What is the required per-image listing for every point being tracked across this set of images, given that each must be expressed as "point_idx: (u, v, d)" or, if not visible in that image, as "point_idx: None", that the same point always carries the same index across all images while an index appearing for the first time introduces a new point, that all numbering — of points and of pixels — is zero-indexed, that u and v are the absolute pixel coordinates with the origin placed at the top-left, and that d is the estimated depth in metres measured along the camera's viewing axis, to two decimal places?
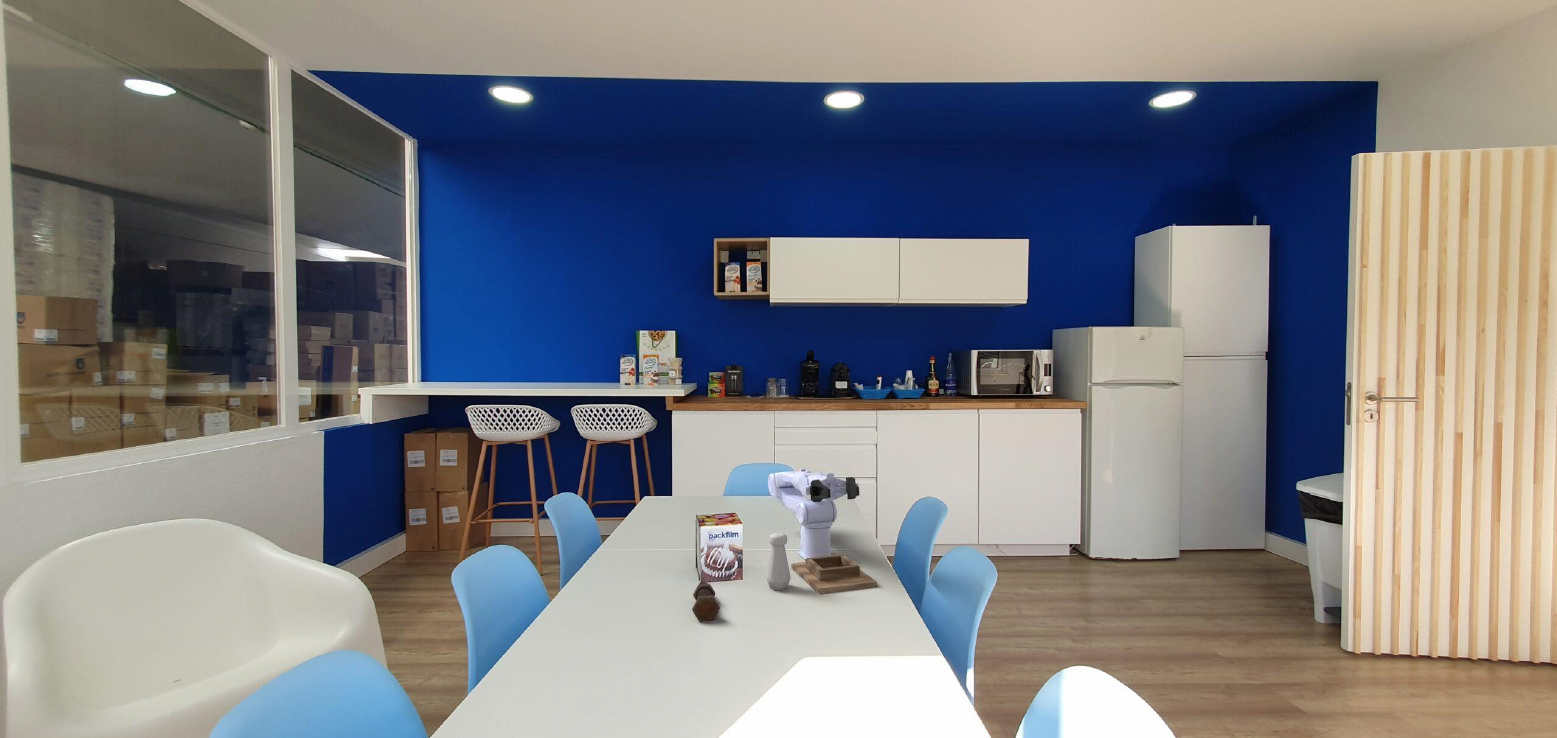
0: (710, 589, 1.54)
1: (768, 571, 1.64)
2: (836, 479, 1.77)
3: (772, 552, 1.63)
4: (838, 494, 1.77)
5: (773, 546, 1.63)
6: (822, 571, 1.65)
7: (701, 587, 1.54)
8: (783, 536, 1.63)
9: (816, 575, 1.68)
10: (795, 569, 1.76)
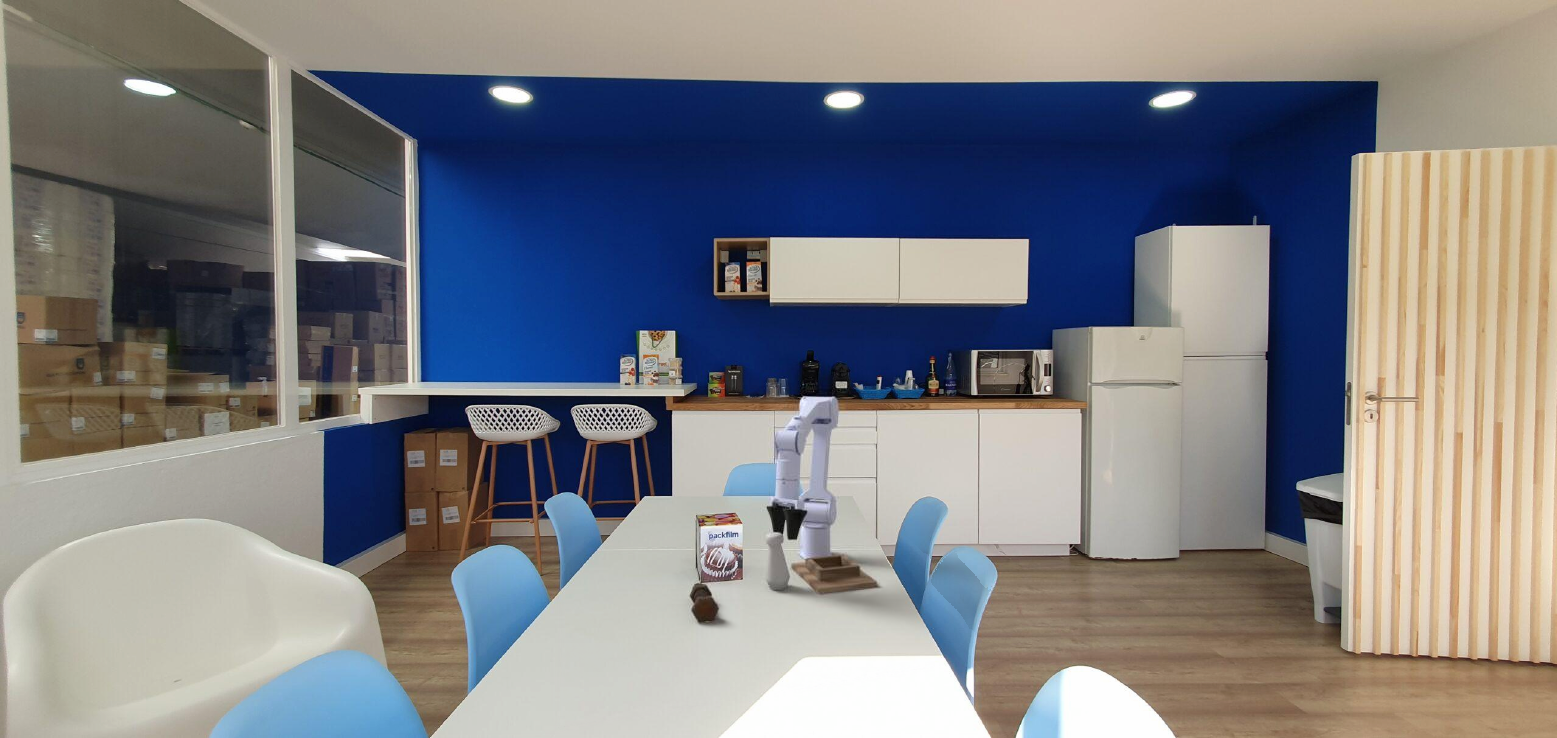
0: (707, 590, 1.54)
1: (767, 571, 1.64)
2: (781, 502, 1.62)
3: (769, 552, 1.63)
4: None
5: (770, 546, 1.63)
6: (822, 571, 1.65)
7: (698, 588, 1.54)
8: (779, 535, 1.63)
9: (816, 575, 1.68)
10: (795, 569, 1.76)
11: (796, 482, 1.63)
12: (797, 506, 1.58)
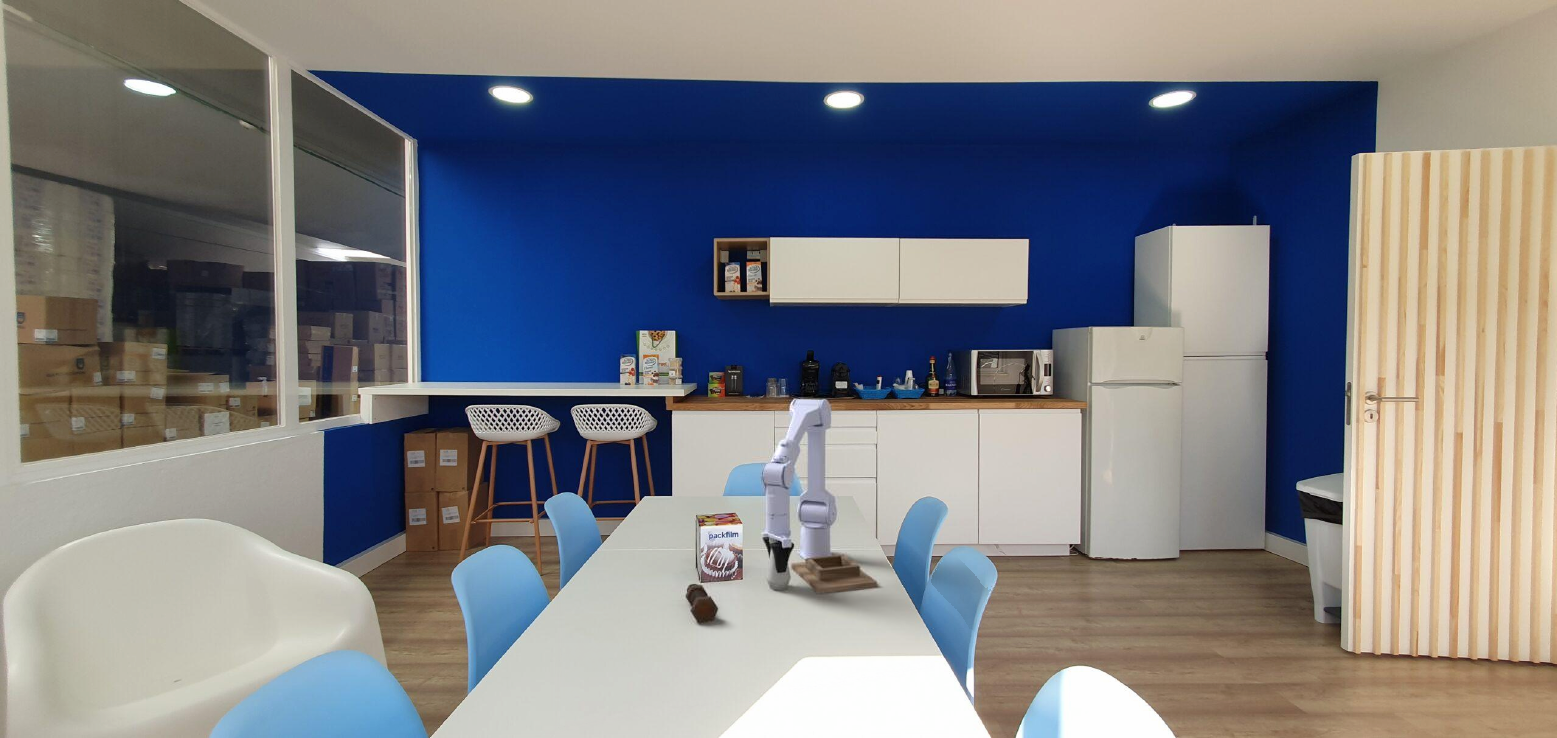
0: (703, 590, 1.54)
1: (768, 571, 1.64)
2: None
3: (772, 552, 1.63)
4: None
5: None
6: (822, 571, 1.65)
7: (694, 588, 1.53)
8: None
9: (816, 575, 1.68)
10: (795, 569, 1.76)
11: (785, 516, 1.62)
12: (784, 545, 1.57)
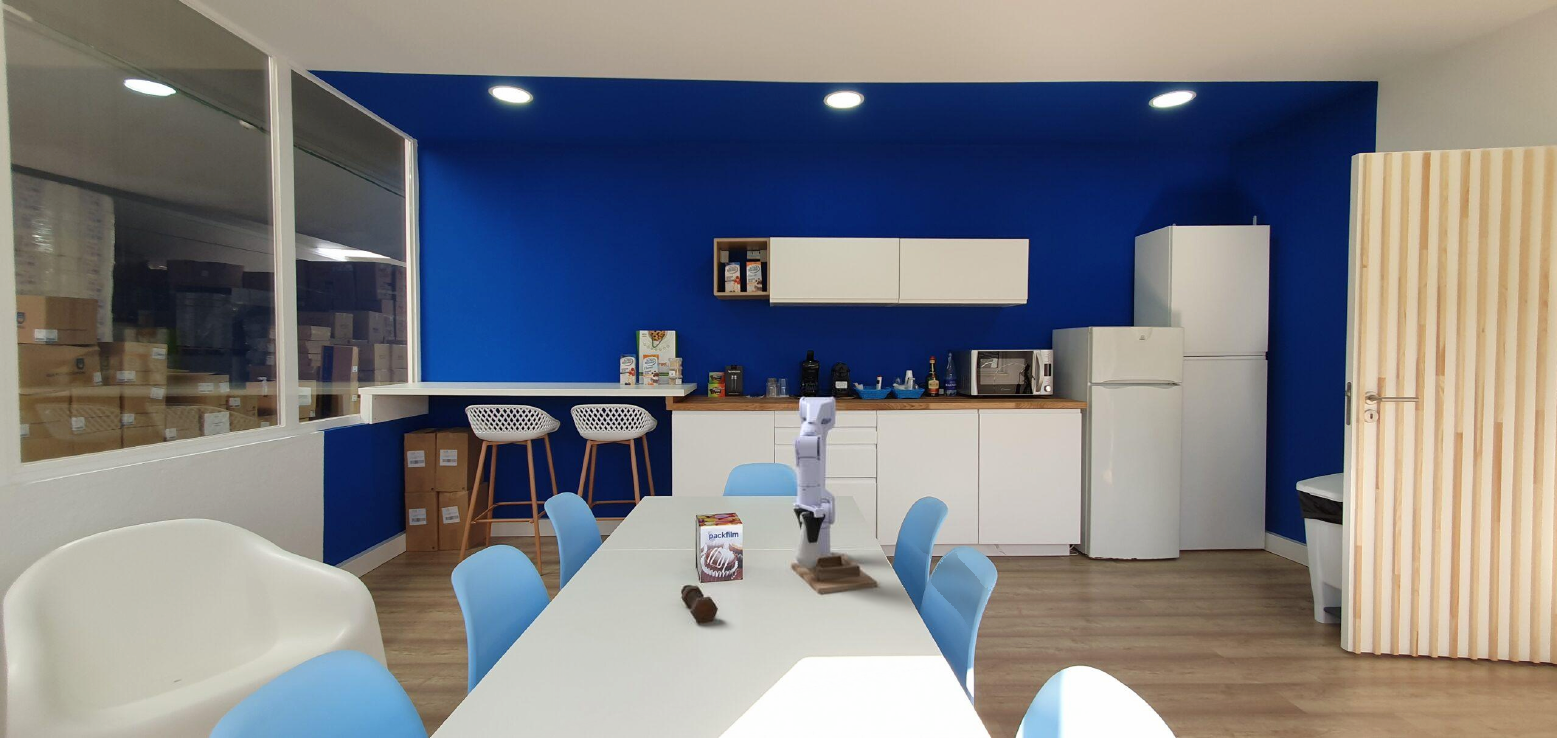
0: (699, 591, 1.53)
1: (798, 548, 1.68)
2: None
3: (802, 530, 1.67)
4: None
5: (803, 524, 1.67)
6: (822, 571, 1.65)
7: (690, 590, 1.53)
8: None
9: (816, 575, 1.68)
10: (795, 569, 1.76)
11: (816, 488, 1.66)
12: (816, 514, 1.61)
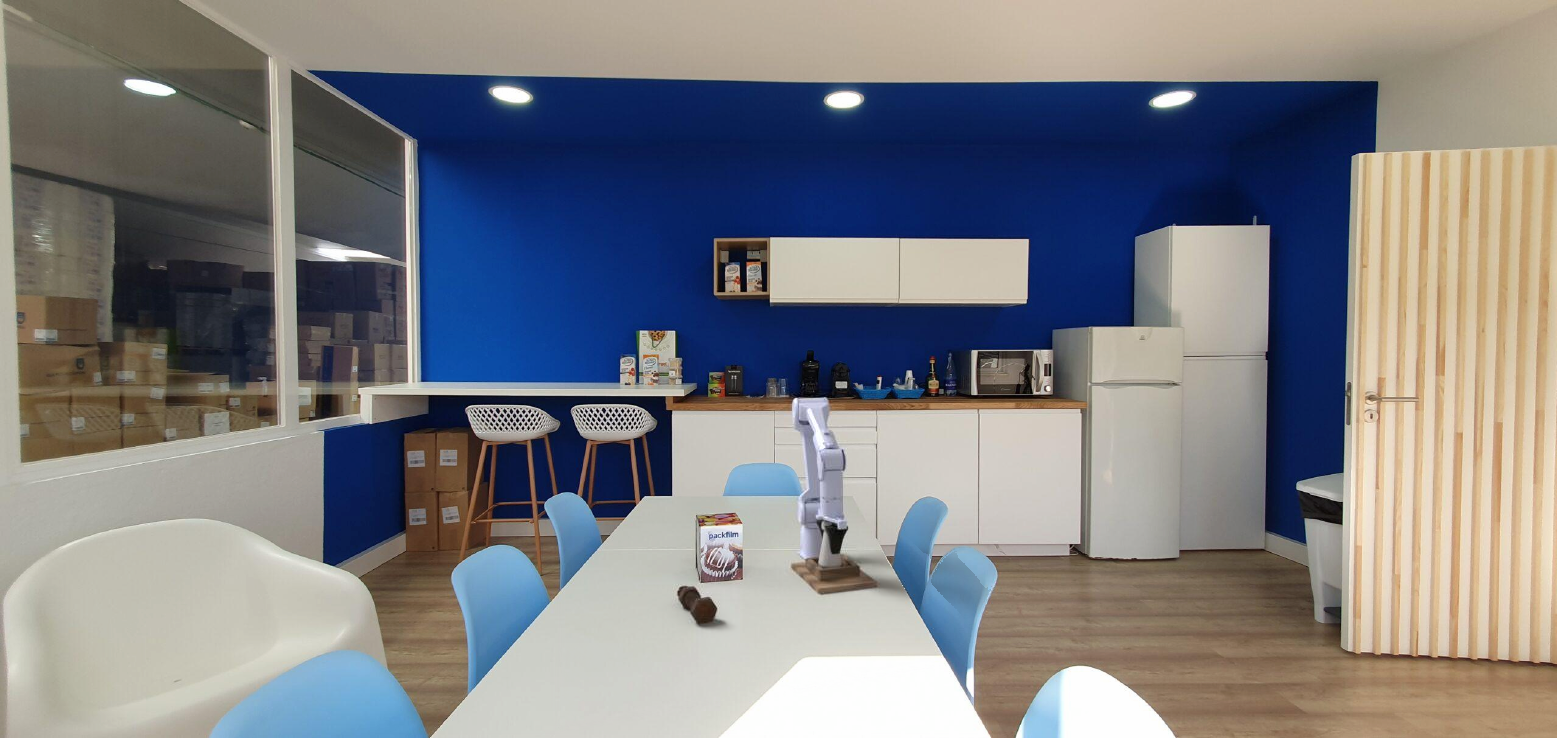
0: (696, 591, 1.53)
1: (820, 556, 1.71)
2: None
3: (824, 538, 1.70)
4: None
5: (825, 532, 1.70)
6: (822, 571, 1.65)
7: (687, 590, 1.52)
8: None
9: (816, 575, 1.68)
10: (795, 569, 1.76)
11: (839, 500, 1.69)
12: (839, 526, 1.64)
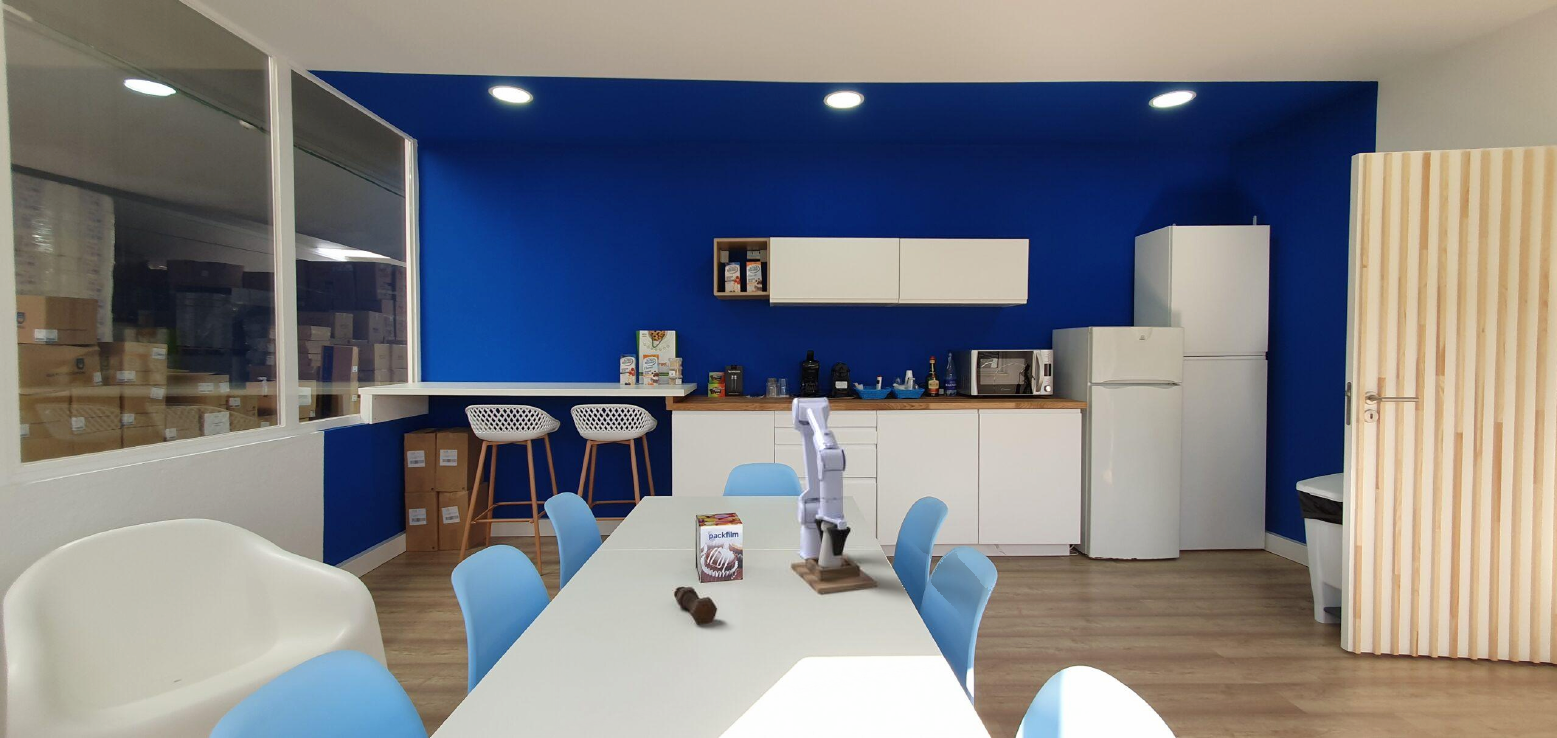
0: (694, 592, 1.53)
1: (820, 557, 1.70)
2: None
3: (824, 538, 1.70)
4: None
5: (825, 533, 1.70)
6: (822, 571, 1.65)
7: (685, 591, 1.52)
8: None
9: (816, 575, 1.68)
10: (795, 569, 1.76)
11: (839, 500, 1.69)
12: (839, 527, 1.64)
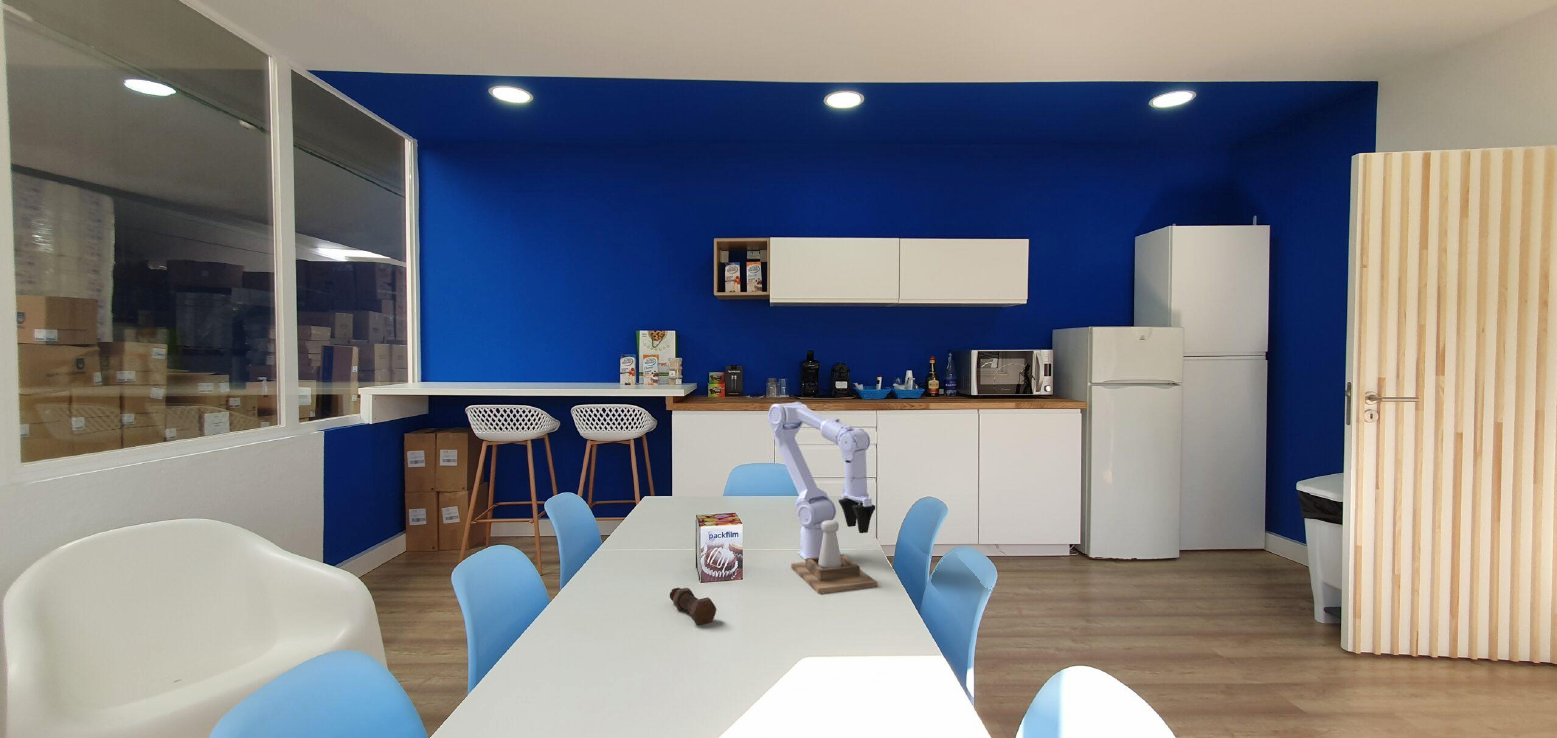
0: (691, 593, 1.52)
1: (820, 556, 1.70)
2: None
3: (824, 538, 1.70)
4: None
5: (825, 533, 1.70)
6: (822, 571, 1.65)
7: (682, 592, 1.51)
8: (835, 523, 1.70)
9: (816, 575, 1.68)
10: (795, 569, 1.76)
11: (863, 479, 1.75)
12: (865, 504, 1.70)
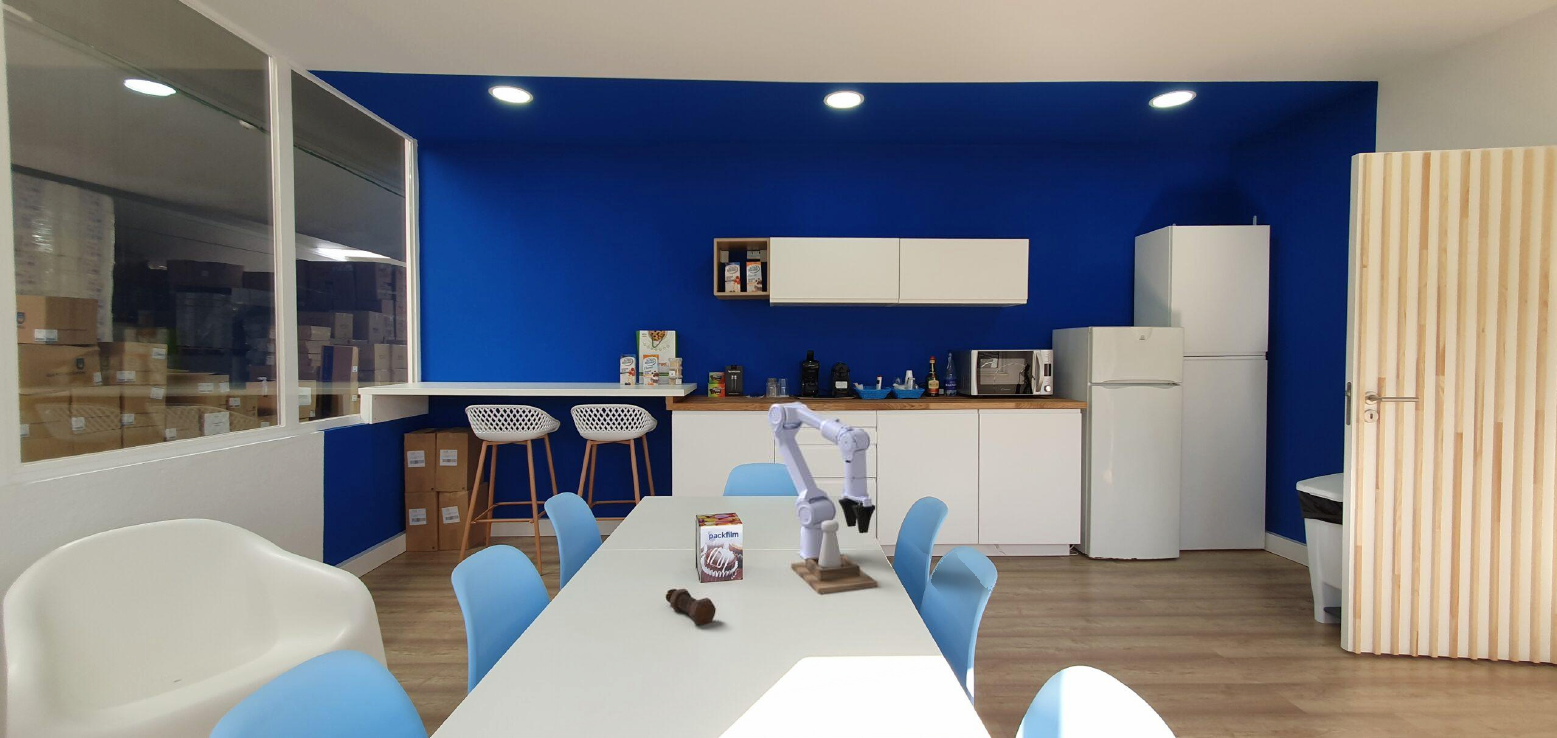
0: (688, 594, 1.52)
1: (820, 557, 1.70)
2: None
3: (824, 538, 1.70)
4: None
5: (825, 533, 1.70)
6: (822, 571, 1.65)
7: (680, 593, 1.50)
8: (835, 523, 1.70)
9: (816, 575, 1.68)
10: (795, 569, 1.76)
11: (863, 479, 1.75)
12: (865, 504, 1.70)
